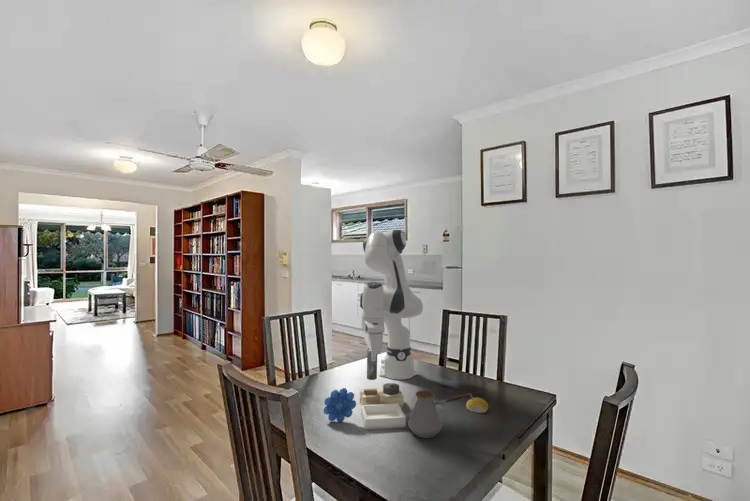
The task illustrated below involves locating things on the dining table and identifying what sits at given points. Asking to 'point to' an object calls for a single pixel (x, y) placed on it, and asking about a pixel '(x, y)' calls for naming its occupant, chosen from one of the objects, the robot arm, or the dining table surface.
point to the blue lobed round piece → (339, 405)
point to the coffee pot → (427, 414)
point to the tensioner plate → (382, 395)
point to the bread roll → (477, 405)
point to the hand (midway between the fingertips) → (372, 358)
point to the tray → (382, 416)
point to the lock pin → (371, 367)
